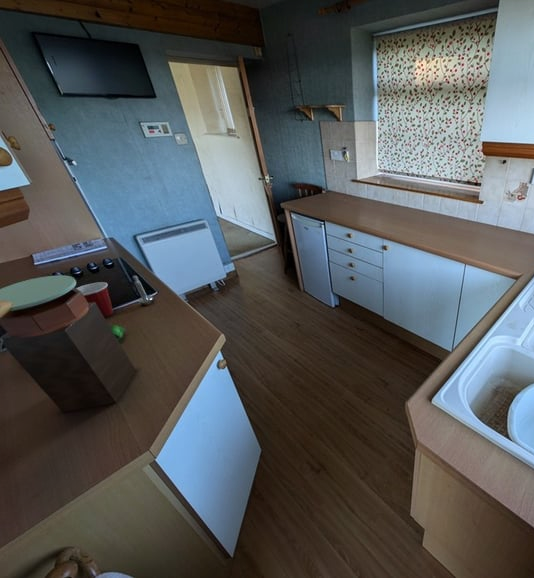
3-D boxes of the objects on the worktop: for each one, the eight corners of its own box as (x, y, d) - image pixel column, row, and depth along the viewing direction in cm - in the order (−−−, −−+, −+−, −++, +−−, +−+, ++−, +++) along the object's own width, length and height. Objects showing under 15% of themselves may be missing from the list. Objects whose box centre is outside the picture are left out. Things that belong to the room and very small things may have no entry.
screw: (141, 308, 116) (139, 303, 119) (155, 303, 119) (153, 298, 122) (126, 279, 109) (125, 275, 112) (142, 276, 112) (141, 271, 115)
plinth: (56, 415, 75) (-27, 323, 60) (87, 376, 86) (24, 289, 71) (118, 404, 78) (54, 314, 63) (140, 367, 90) (90, 283, 74)
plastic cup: (120, 303, 119) (106, 277, 113) (122, 315, 112) (107, 288, 106) (85, 313, 113) (68, 286, 107) (84, 326, 106) (66, 299, 100)
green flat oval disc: (19, 284, 71) (12, 273, 69) (91, 278, 74) (85, 267, 72) (-99, 357, 49) (-114, 343, 48) (9, 343, 53) (-2, 330, 51)
